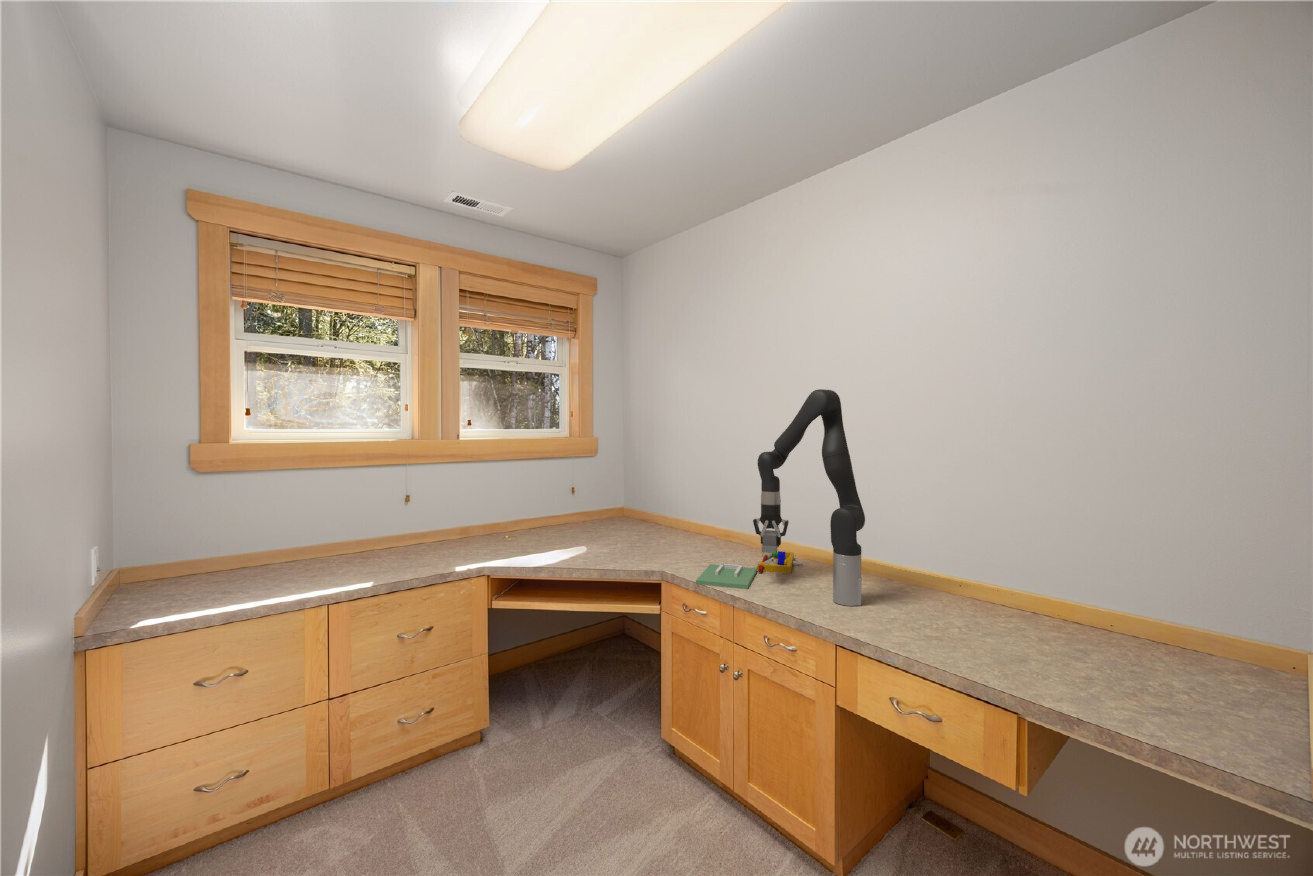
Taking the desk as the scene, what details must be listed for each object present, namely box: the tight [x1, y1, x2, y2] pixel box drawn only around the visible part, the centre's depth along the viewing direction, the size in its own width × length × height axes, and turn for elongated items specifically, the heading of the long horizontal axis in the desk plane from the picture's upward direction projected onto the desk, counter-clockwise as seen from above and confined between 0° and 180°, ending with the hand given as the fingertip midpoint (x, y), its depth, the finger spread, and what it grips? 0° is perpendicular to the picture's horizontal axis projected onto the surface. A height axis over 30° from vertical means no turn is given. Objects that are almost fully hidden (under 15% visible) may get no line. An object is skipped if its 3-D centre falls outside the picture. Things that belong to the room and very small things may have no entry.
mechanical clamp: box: [756, 548, 804, 574], centre depth 230 cm, size 18×6×30 cm
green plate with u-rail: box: [695, 563, 758, 590], centre depth 213 cm, size 20×24×3 cm
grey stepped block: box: [761, 529, 779, 554], centre depth 206 cm, size 13×5×6 cm, turn 161°
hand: (770, 545), depth 207 cm, fingers closed on grey stepped block, 5 cm apart
